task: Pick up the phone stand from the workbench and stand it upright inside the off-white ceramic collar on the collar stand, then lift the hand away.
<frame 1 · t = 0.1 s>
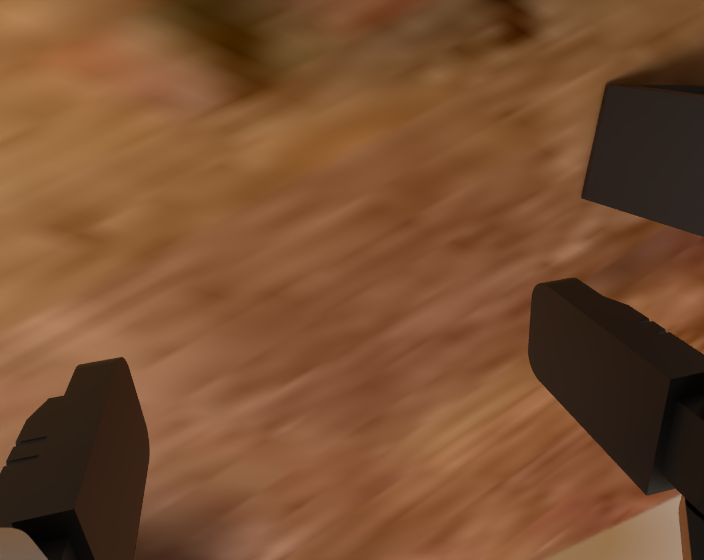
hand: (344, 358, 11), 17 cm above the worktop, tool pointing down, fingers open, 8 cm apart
phone stand: (659, 140, 31), on the worktop
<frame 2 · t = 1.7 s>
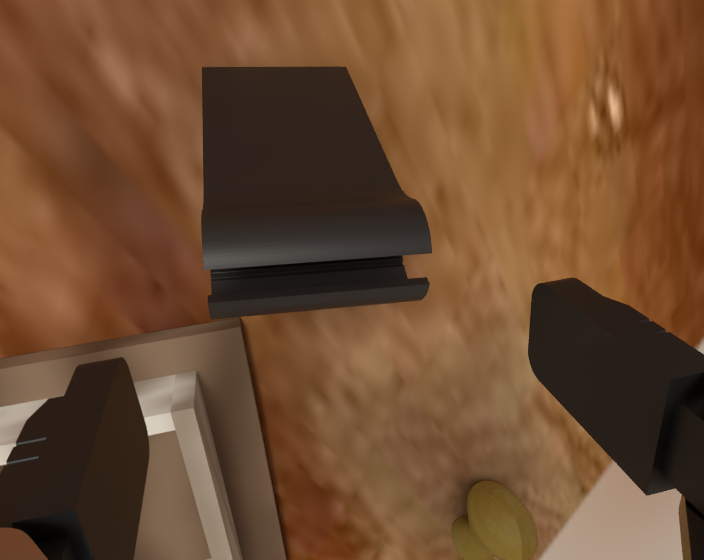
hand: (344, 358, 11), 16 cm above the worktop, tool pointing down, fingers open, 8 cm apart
knob: (475, 500, 37), on the worktop
collar stand: (121, 485, 30), on the worktop
phone stand: (279, 170, 25), on the worktop
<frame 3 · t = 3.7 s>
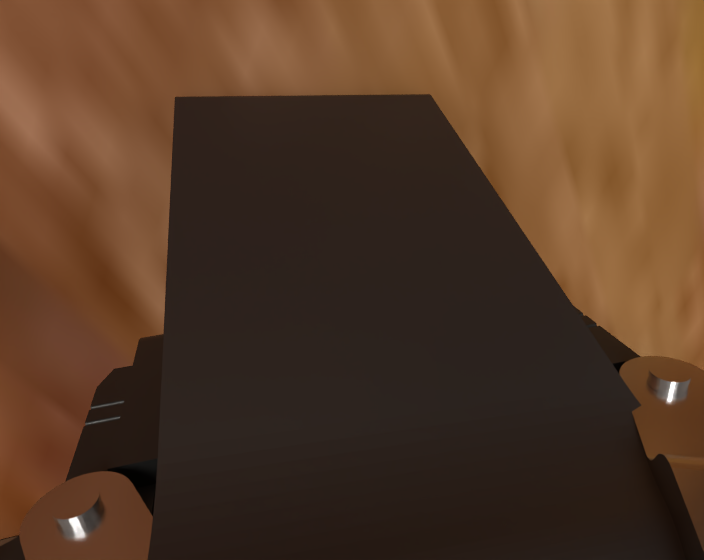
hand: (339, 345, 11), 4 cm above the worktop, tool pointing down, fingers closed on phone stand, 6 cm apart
phone stand: (308, 264, 15), on the worktop, touching gripper
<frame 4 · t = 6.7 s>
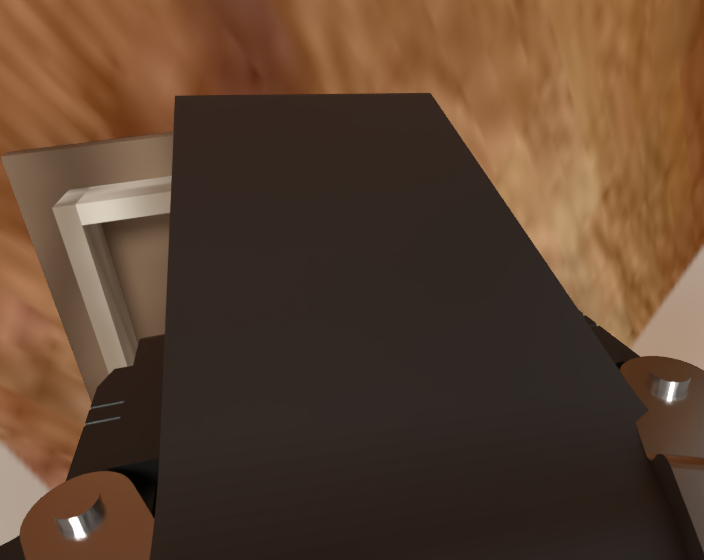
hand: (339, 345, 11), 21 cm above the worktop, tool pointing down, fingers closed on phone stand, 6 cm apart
collar stand: (209, 287, 32), on the worktop
phone stand: (308, 263, 15), point 16 cm above the worktop, touching gripper
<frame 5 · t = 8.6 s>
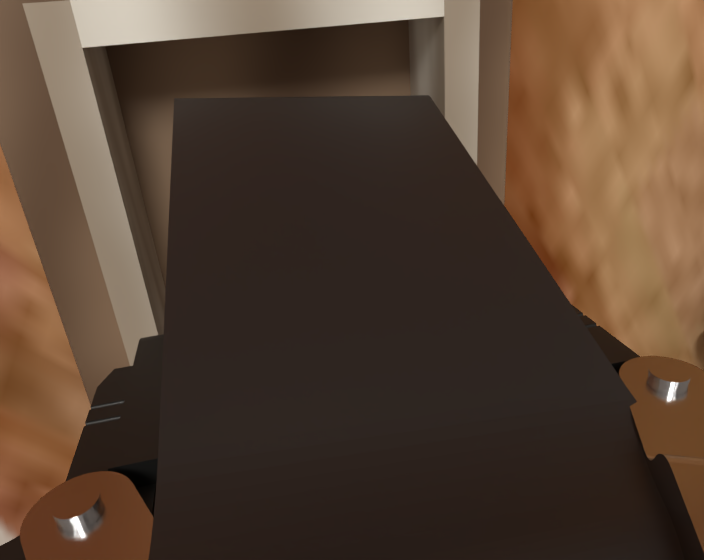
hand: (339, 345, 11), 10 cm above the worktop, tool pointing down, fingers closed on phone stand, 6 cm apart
collar stand: (286, 214, 20), on the worktop
phone stand: (308, 265, 15), point 5 cm above the worktop, touching gripper
when the fingers open (6 cm above the worktop, at t = 10.2 s): phone stand drops 1 cm, resting on collar stand.
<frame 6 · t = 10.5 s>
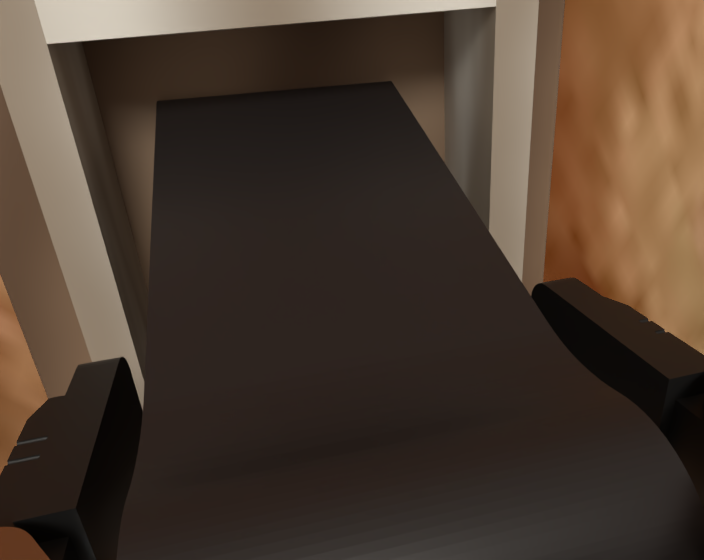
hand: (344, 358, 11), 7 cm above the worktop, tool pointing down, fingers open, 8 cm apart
collar stand: (296, 238, 17), on the worktop
phone stand: (293, 247, 16), point 1 cm above the worktop, touching collar stand
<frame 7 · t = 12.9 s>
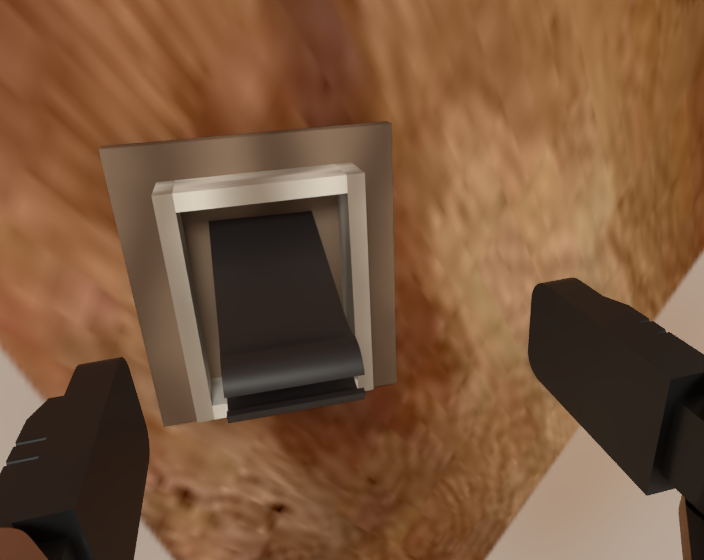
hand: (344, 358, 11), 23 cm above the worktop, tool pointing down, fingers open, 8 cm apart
collar stand: (269, 278, 35), on the worktop
phone stand: (267, 282, 34), point 1 cm above the worktop, touching collar stand
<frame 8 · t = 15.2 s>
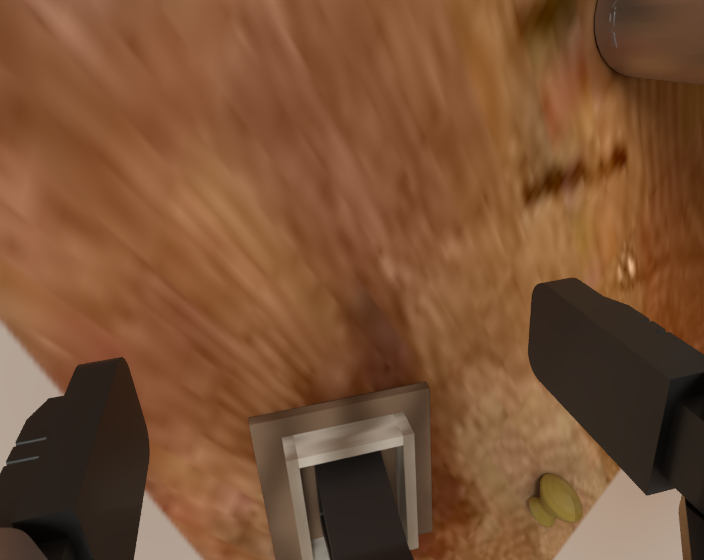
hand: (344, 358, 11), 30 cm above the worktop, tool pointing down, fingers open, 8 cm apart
knob: (541, 486, 59), on the worktop
collar stand: (347, 476, 52), on the worktop
phone stand: (347, 482, 51), point 1 cm above the worktop, touching collar stand
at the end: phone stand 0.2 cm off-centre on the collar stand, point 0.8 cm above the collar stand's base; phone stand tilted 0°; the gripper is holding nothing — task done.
